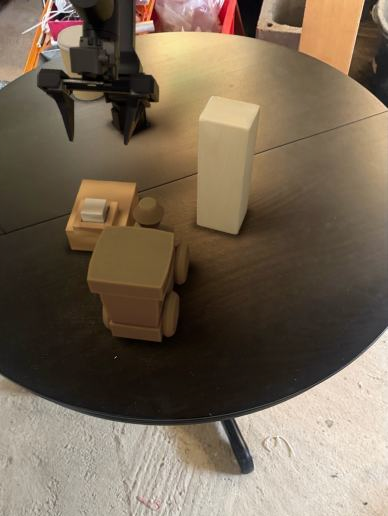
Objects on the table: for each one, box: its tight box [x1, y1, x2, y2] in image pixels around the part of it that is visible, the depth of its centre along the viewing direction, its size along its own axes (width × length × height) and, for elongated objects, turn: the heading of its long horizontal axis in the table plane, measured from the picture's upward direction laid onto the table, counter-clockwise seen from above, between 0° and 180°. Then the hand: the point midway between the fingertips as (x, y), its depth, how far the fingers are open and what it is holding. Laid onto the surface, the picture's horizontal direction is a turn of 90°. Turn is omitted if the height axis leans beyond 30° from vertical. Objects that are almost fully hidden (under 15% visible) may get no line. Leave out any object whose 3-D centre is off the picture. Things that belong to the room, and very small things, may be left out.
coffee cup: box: [56, 24, 104, 101], centre depth 105 cm, size 9×9×12 cm
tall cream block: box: [196, 95, 261, 235], centre depth 79 cm, size 8×7×21 cm
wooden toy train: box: [86, 196, 190, 343], centre depth 71 cm, size 20×11×17 cm, turn 172°
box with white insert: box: [65, 178, 140, 252], centre depth 84 cm, size 14×10×6 cm
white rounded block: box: [81, 198, 108, 223], centre depth 79 cm, size 4×4×2 cm
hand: (98, 143), depth 78 cm, fingers open, 9 cm apart
